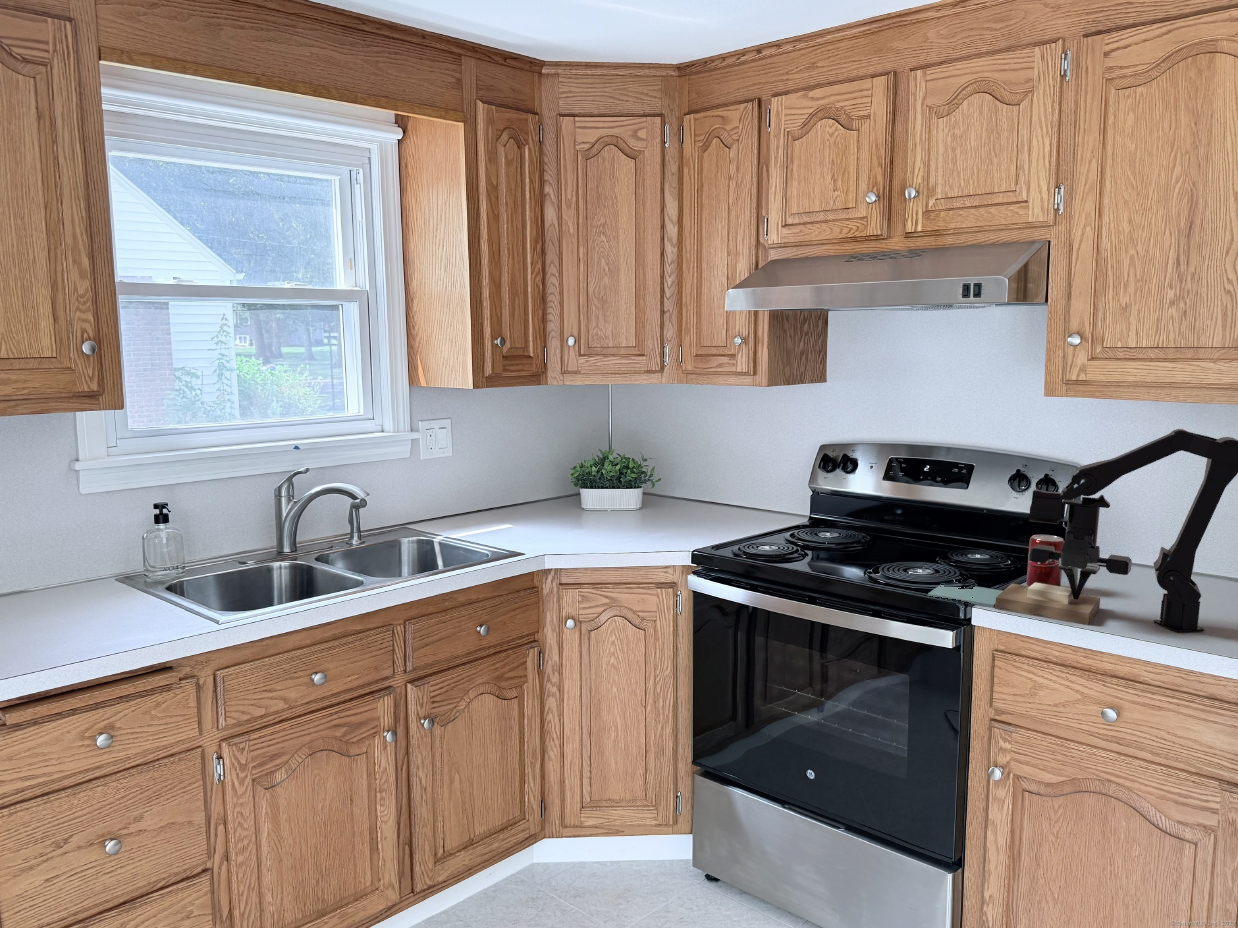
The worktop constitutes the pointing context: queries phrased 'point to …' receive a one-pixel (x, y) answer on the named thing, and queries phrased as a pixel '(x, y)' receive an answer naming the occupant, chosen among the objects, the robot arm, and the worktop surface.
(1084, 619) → the walnut deck
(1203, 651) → the worktop surface
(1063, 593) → the birch tile
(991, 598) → the rubber mat
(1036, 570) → the soda can
